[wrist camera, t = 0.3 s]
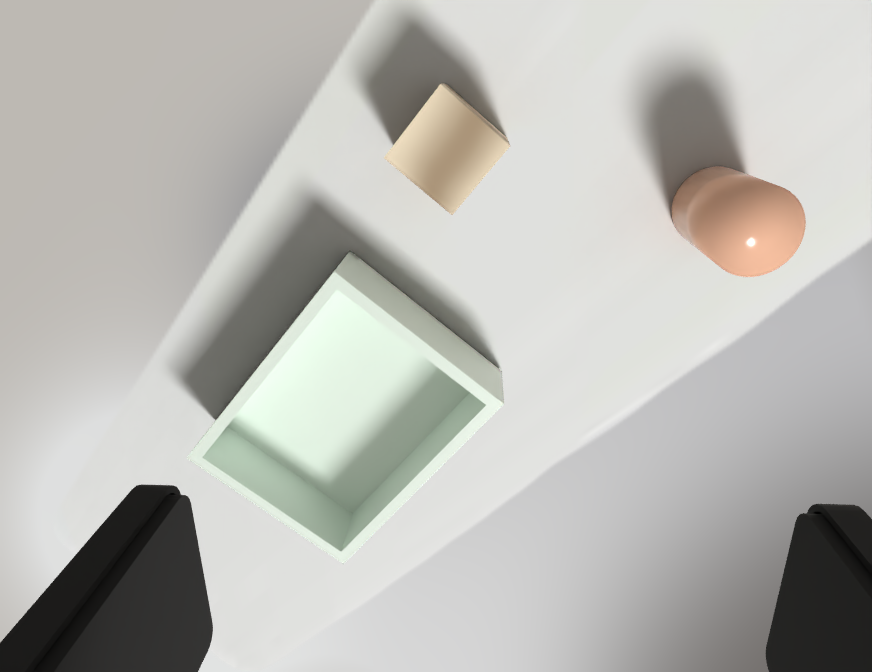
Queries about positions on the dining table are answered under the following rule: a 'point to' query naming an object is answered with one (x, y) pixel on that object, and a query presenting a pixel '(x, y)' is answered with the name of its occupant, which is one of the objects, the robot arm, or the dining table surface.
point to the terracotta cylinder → (739, 220)
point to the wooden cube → (447, 148)
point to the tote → (350, 411)
